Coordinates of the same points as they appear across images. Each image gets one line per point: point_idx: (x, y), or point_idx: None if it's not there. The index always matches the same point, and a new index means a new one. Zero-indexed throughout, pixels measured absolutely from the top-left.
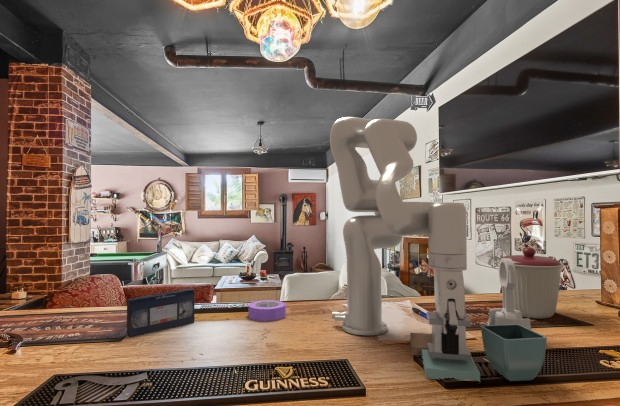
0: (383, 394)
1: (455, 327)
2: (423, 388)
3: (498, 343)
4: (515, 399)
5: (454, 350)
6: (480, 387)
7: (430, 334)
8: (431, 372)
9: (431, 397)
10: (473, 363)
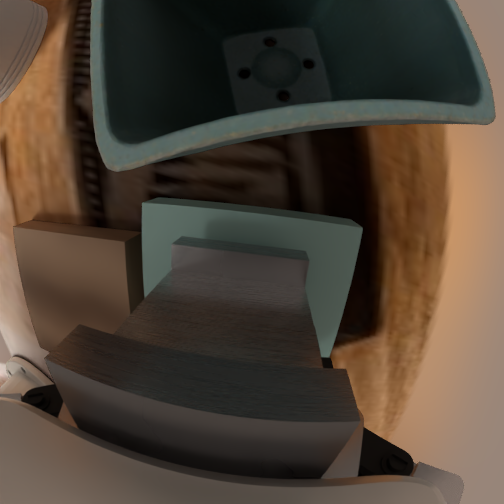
0: (375, 433)
1: (429, 468)
2: (367, 380)
3: (404, 122)
4: (443, 154)
5: (328, 358)
6: (380, 230)
7: (27, 295)
8: None
9: (409, 368)
10: (268, 222)
